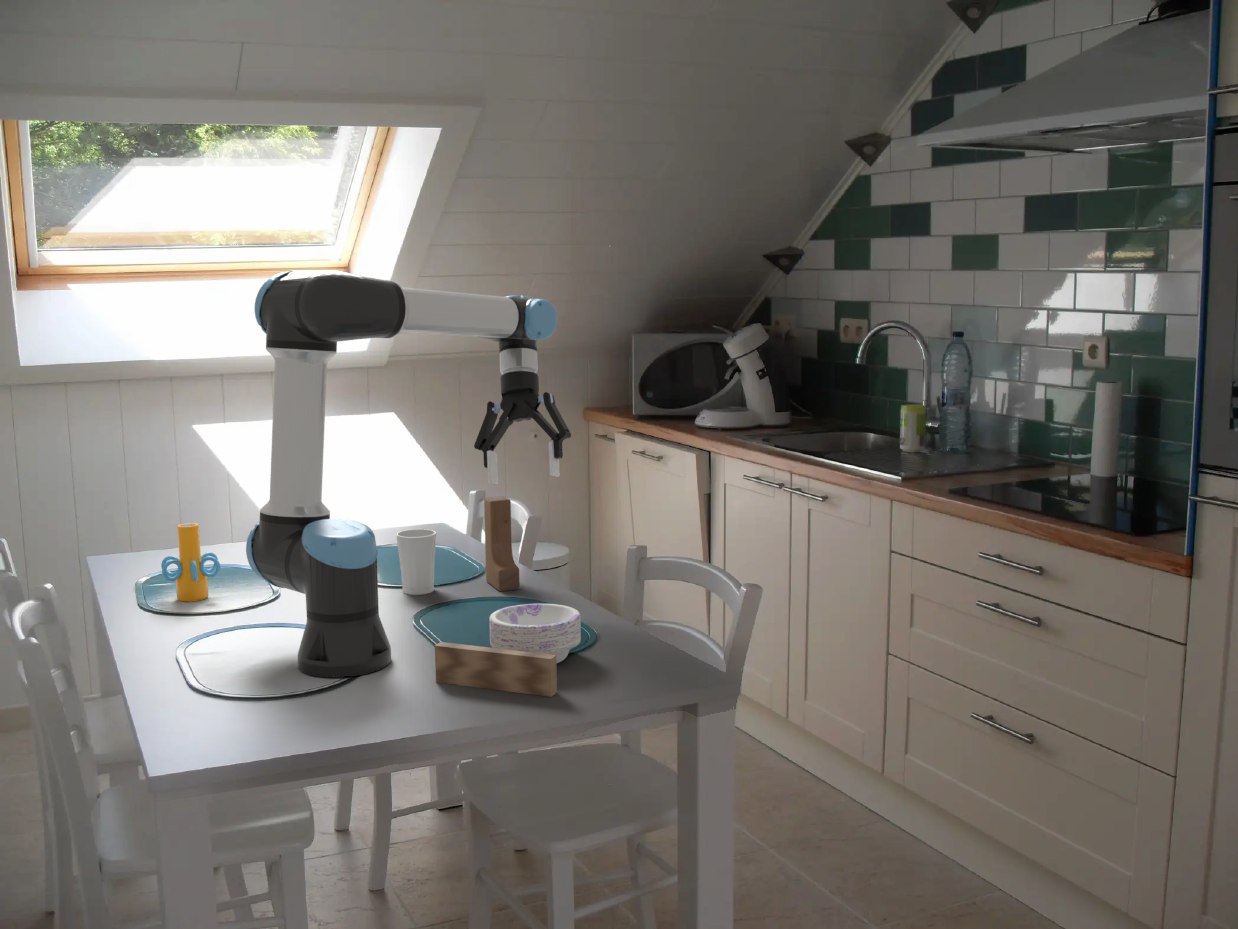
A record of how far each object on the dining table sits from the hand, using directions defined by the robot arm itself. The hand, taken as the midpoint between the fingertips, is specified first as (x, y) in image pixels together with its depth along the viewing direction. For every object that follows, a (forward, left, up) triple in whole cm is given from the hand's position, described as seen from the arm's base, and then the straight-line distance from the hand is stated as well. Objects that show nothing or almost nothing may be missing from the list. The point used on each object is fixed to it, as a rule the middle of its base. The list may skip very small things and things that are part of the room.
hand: (523, 480), depth 233 cm
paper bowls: (-9, -35, -24) cm, 44 cm away
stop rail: (-19, -46, -24) cm, 56 cm away
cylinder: (-61, +28, -24) cm, 71 cm away
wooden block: (-1, +13, -24) cm, 27 cm away
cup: (-18, +16, -24) cm, 34 cm away
